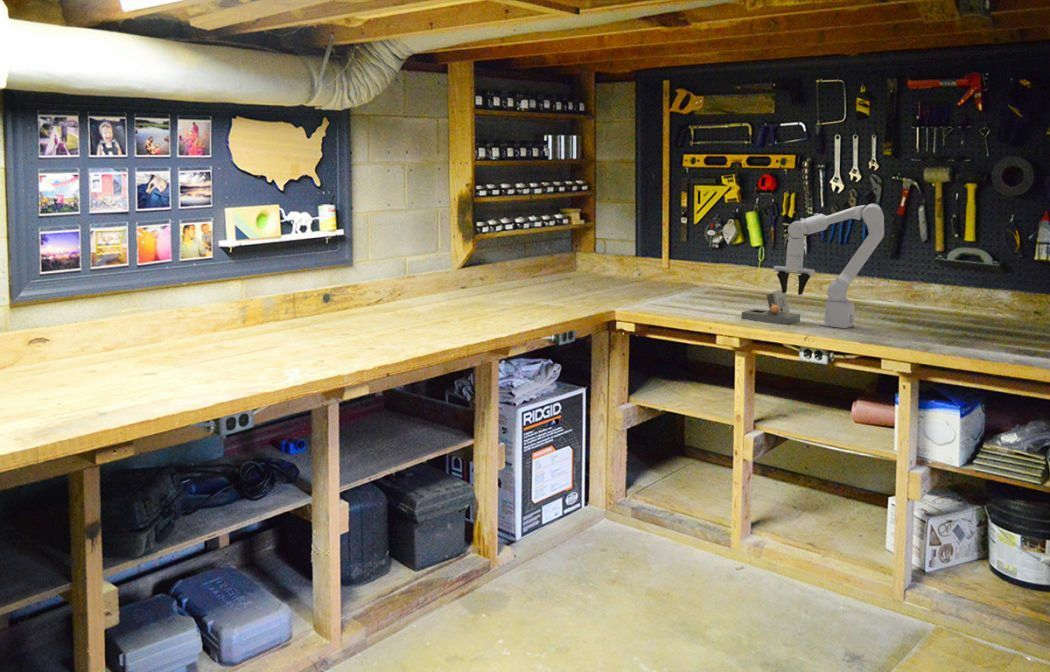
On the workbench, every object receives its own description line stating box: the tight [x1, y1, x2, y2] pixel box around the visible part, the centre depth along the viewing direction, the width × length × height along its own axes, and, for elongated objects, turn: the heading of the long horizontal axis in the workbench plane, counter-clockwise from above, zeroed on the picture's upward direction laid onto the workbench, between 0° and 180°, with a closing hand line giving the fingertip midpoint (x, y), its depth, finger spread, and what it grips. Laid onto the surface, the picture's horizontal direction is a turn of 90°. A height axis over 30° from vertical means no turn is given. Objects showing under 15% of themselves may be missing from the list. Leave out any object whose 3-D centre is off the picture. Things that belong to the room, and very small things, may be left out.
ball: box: [769, 304, 780, 314], centre depth 343 cm, size 3×3×3 cm
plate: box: [740, 308, 801, 326], centre depth 344 cm, size 18×10×2 cm, turn 50°
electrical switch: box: [766, 288, 790, 313], centre depth 357 cm, size 9×5×9 cm, turn 141°
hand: (792, 293), depth 338 cm, fingers open, 5 cm apart
